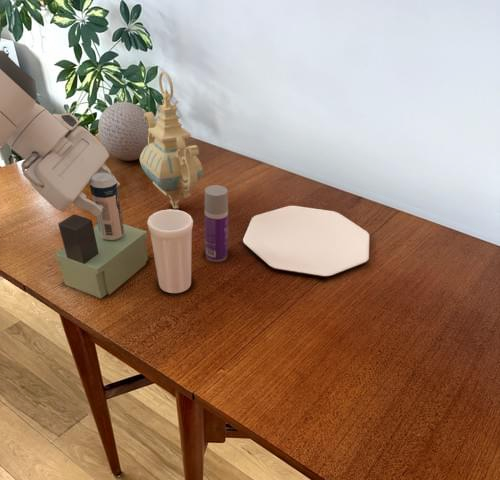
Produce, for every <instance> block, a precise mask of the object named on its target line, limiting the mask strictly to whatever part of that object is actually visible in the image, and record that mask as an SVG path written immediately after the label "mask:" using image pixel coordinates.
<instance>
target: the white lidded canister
mask: <svg viewBox="0 0 500 480" xmlns="http://www.w3.org/2000/svg"><path fill="white" fill-rule="evenodd" d="M111 173H112V172H111ZM111 173H110V172H97V173H94V176H93V177H92V178H91V180H90V181H89V183H88V184H89V187H90V192H91V198H92V201H93V202H95V203H96V201H98V202H99V203H100V204H101V205H102V206H103V207H104V210H103V211H102V213H101V214H100V215H99V216H98V217H96V216H95V218H96V223H97V225H98V228H99V233H100V236H101V237H102V238H104V239H107V240H116V239H119V238H120V237H122V236H123V235H124V234H125V231H124V226H123V224H124V220H123V214H122V207H121V202H120V195H119V188H117V181H118V180H117V178H116V177H115V175H114V174H113V173H112V174H111Z"/></svg>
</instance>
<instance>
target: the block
mask: <svg viewBox="0 0 500 480" xmlns="http://www.w3.org/2000/svg"><path fill="white" fill-rule="evenodd" d="M93 227H94V224H93V220H92V219H90V218H87V217H85V216H81V215H78V214H75V213H73V214H72V215H70V216H69V217H67V218H65V219H64V220H61V221H60V222H59V223H58V228H59V233H60V236H61V240H62V243H63V244H62V245H63V247H64V248H65V251H66V255H67V258H69V259H72V260H75V261H77V262H80V263H83V264H85V263H86V262H88V261H89V260H90V259H92V258H93V257H95V256H96V255H97V254H99V252H98V247H97V243H96V238H95V233H94V228H93Z"/></svg>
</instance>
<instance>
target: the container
mask: <svg viewBox="0 0 500 480" xmlns="http://www.w3.org/2000/svg"><path fill="white" fill-rule="evenodd" d="M228 234H229V191H228V188H227V187H225V186H223V185H218V184H213V185H209V186H207V187H205V189H204V244H205V245H204V248H205V249H204V251H205V258H206V259H207V260H208V261H210V262H217V263H218V262H223V261H225V260H226V259H227V258H228V241H229V240H228V238H229V237H228V236H229V235H228Z"/></svg>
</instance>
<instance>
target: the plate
mask: <svg viewBox="0 0 500 480" xmlns="http://www.w3.org/2000/svg"><path fill="white" fill-rule="evenodd" d="M370 237H371V236H370V233H369V231H367V230H365V229H364V228H363V227H361V226H359V225H358V224H356V223H355V222H353V221H351V220H350V219H349V218H347V217H346V216H344V215H343V214H341V213H339V212H337V211H334V210H327V209H319V208H312V207H307V206H306V207H305V206H299V205H288V206H284V207H279V208H276V209H274V210H269V211H266V212H263V213H260V214H255V215H254V216H252V217H251V219H250V222H249V223H248V226H247V229H246V231H245V234H244V236H243V238H242V242H243V244H244V245H245V246H246V247H247V248H248V249H249V250H250V251H251V252H253V253H254V254H255V255H256V256H257V257H258V258H259V259H260V260H262V262H264V263H265V264H266V265H267V266H268V267H270V268H271V269H274V270H279V271H284V272H285V271H286V272H291V273H295V274H297V273H298V274H302V275H303V274H304V275H309V276H317V277H322V278H326V277H332V276H334V275H338V274H340V273H342V272H345V271H348V270H350V269H353V268H356V267H358V266H361V265H363V264H366V263H367V262H368V261H369V259H370Z"/></svg>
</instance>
